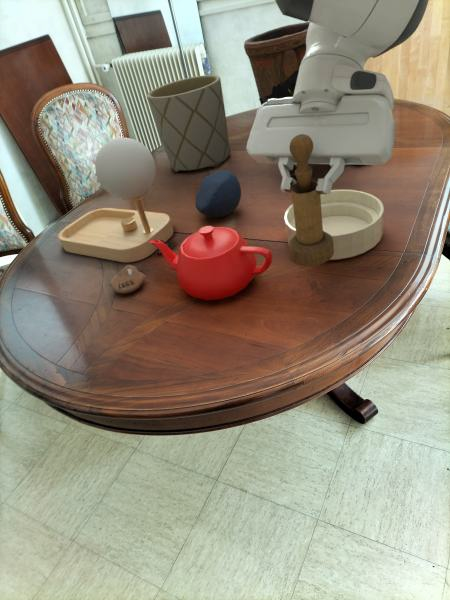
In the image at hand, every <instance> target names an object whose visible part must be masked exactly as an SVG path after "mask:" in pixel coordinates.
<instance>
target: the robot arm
mask: <svg viewBox="0 0 450 600" xmlns="http://www.w3.org/2000/svg"><path fill="white" fill-rule="evenodd" d="M274 1H275V3H276V6H277V8H278V9H279V11H280V13H281V14H282V16H286V17H290V18H292V19H296V20H299V21H302V22H304V23H305V22H310V23H309V27H308V32H307V36H306V54H305V56H304V58H303V60H302V62H301V64H300V68H299V73H298V77H297V82H296V86H295V91H294V95H293V97H286V98H281V99H276V98H272V99H269V100H267V102H265V103H264V104H262V105H261V104H260V105H259V106H258V108H257V110H256V114H255V118H254V121H253V124H252V126H251V129H250V133H249V136H248V138H247V142H246V147H245V149H246V153H247V154H248V156H249V157H250V158H251V159H252V160H253V161H255V162H256V163H257V164H277V166H278V169H279V172H280V175H281V177H282V180H281V184H280V191H281V192H282V193H283V194H292V193H291V188H292V186H293V185H294V184H296V183H298V181H297V180H296V179H295V178H294V177H291V175H290V173H289V170H293V166H294V164H297V161H296V160H295V159H294V157H293V156H292V154H291V152H290V148H289V147H290V142H291V140H292V139H293V138H294V137H295V136H297V135H300V134H305V135H308V136H309V137H310V138H311V139H312V142H313V151H312V153H311V155H310V157H309V160H308V165H329V167H330V169H329V170H328V172H327V173H326V175H325V176H324V177H322V178H321V177H318V178H317V181H316V182H317V184H318V185H317V186H316V192H317V193H318V194H319V195H330V192H331V190H332V187H333V184H334V183H335V182H336V181H337V179H339V177H340V176H341V175H342V174H343V173H344V171H345V167H346V165H357V164H359V165H371V166H373V165H381V166H383V165H385V164H386V163H387V162H388V161H389V160H390V159H391V158H392V156H393V152H394V147H395V138H396V137H395V136H396V120H395V118H394V114H393V111H394V107H395V97H394V92H393V88H392V86H391V83H390V82H389V79H388V78H387V76H386V75H385V74H383V73H382V72H377V71H372V70H368V69H367V70H366V69H365V65H366V63H367V62H368V60H369V59H370V58H373V59H374V58H375V59H376V58H378V57H380V56H382V55H384V54H385V53H387V52H390V51H391V50H392V49H395V48H396V47H398V46H400V45H402V44H403V43H405V42H406V41H407V40H408V39H409V38H410V37H412V36H413V34H414V33H415V32H416V31H417V29H418V28H419V26H420V24H421V22H422V20H423V18H424V16H425V13H426V10H427V7H428V4H429V0H274ZM266 105H267V106H266Z"/></svg>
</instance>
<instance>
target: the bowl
mask: <svg viewBox="0 0 450 600" xmlns="http://www.w3.org/2000/svg"><path fill="white" fill-rule="evenodd" d="M320 198H321V212H322V225H323V231H324V232H326V233H328V234H330V235H331V236H332V238H333V246H334V254H333V256H332V257H331V258H330V259H329V260H328V261H332V260H333V261H334V260H343V259H347V258H354V257H356V256H359V255H362V254H365V253H366V252H367V251H370V250H371V249H373V248H374V247H375V246H377V244H379V243H380V242H381V239H382V238H383V235H384V220H385V219H384V217H385V208H384V207H385V206H384V204H383V202H382V201H381V200H380V198H378V197H376V196H375V195H374V194H371V193H368V192H366V191H361V190H355V189H331V192H330V195H320ZM283 221H284V231H285V237H286V242H287V245H288V246H289V242H290V240H291V239H292V238H293V237H294V236H295V235H296V227H295V217H294V209H293V203H292V204H290V205H289V206H288V207H287V209H286V210H285V211H284V216H283Z"/></svg>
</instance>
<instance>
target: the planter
mask: <svg viewBox="0 0 450 600" xmlns="http://www.w3.org/2000/svg"><path fill="white" fill-rule="evenodd" d="M221 81H222V79H221V77H220V76H219V75H216V74H204V75H203V74H202V75H197V76H191V77H186V78H182V79H179V80H174V81H171V82H168V83H166V84H163V85H159V86H158V87H155V88H154V89H152V90H150V91H149V92H148V93H147V94H146V99H147V102H148V105H149V108H150V111H151V115H152V117H153V119H154V123H155V125H156V128H157V131H158V134H159V137H160V140H161V143H162V146H163V147H164V151H165V153H166V157H167V160H168V162H169V165H170V166H171V169H172V170H173V171H174V172H175V173H180V171H194V170H195V171H196V170H200V169H204V168H208V167H213V168H218V167H220V166H221V164H222V163H224V162H225V161H226V160H227V158H228V157H229V156H230V154H231V147H230V139H229V131H228V124H227V123H228V122H227V117H226V109H225V108H226V107H225V101H224V95H223V88H222V82H221Z"/></svg>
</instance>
